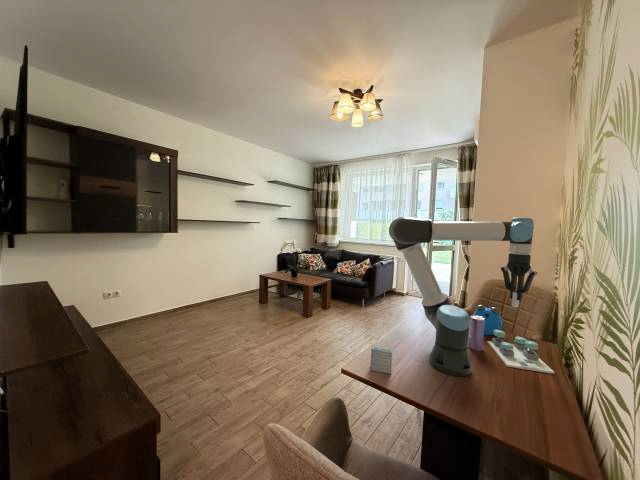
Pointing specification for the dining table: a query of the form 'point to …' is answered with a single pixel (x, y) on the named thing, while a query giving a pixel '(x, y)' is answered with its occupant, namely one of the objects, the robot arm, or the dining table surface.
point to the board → (519, 357)
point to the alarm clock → (489, 318)
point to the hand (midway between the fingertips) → (515, 306)
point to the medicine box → (381, 359)
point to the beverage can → (476, 332)
